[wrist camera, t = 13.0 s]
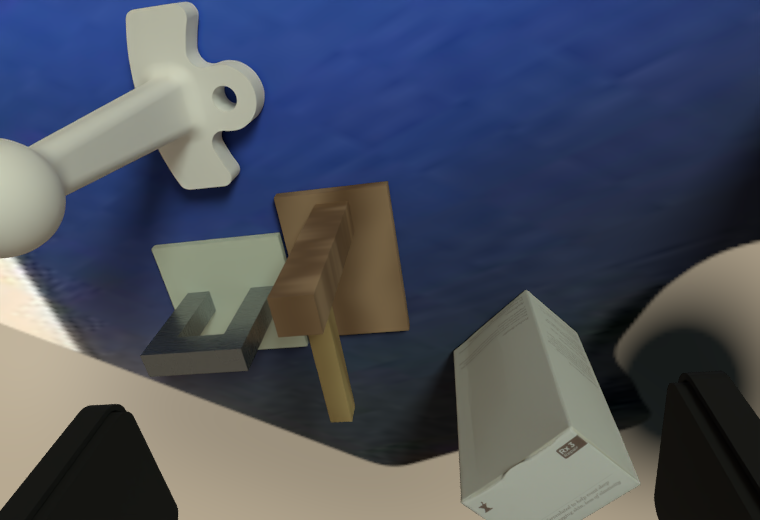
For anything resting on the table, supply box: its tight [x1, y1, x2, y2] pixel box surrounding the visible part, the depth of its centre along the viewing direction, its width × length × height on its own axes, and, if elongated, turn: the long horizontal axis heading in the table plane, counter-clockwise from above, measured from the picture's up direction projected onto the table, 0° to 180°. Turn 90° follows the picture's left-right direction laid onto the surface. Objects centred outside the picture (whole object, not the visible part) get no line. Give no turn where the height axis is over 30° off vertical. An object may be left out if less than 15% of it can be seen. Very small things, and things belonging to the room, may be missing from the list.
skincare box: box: [454, 290, 640, 520], centre depth 36 cm, size 8×6×15 cm
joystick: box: [0, 2, 265, 258], centre depth 27 cm, size 11×8×20 cm
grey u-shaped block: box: [140, 286, 273, 377], centre depth 39 cm, size 7×2×8 cm, turn 98°
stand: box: [267, 181, 410, 422], centre depth 35 cm, size 8×12×13 cm, turn 8°
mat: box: [152, 233, 308, 350], centre depth 42 cm, size 10×10×1 cm
